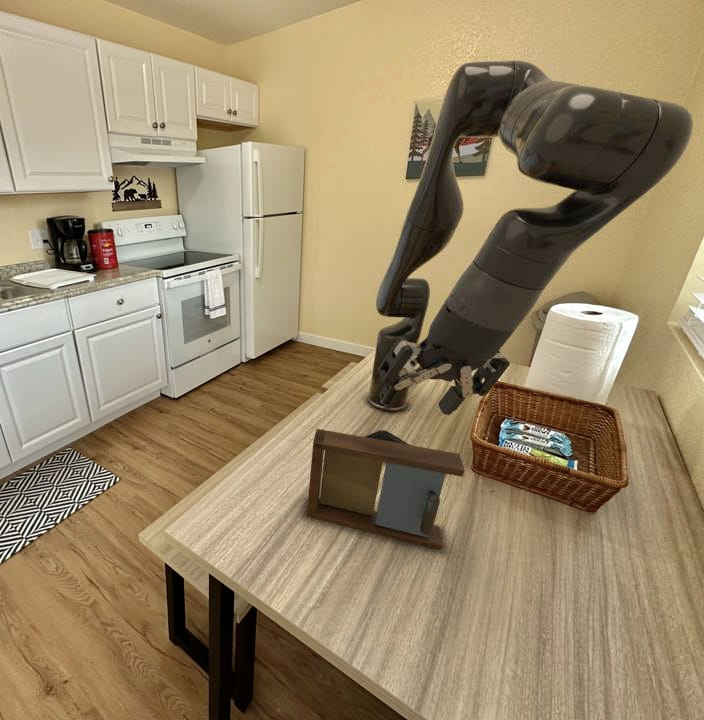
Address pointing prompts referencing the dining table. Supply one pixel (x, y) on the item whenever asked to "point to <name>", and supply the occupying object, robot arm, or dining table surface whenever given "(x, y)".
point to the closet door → (409, 499)
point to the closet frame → (366, 480)
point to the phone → (386, 437)
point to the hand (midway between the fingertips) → (414, 407)
